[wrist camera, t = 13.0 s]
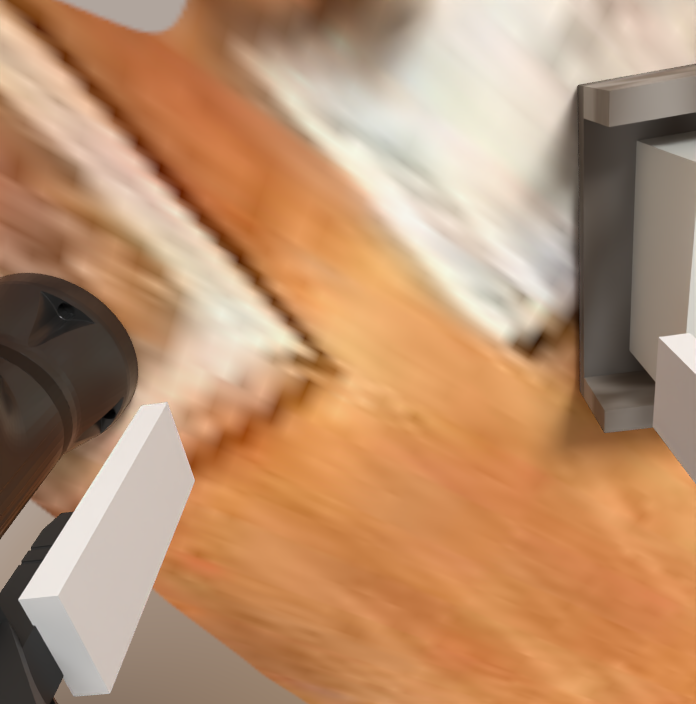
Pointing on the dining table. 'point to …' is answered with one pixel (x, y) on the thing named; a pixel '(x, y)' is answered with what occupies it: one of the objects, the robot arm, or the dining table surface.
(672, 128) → the cradle rack
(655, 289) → the light grey block
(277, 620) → the dining table surface
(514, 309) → the dining table surface
